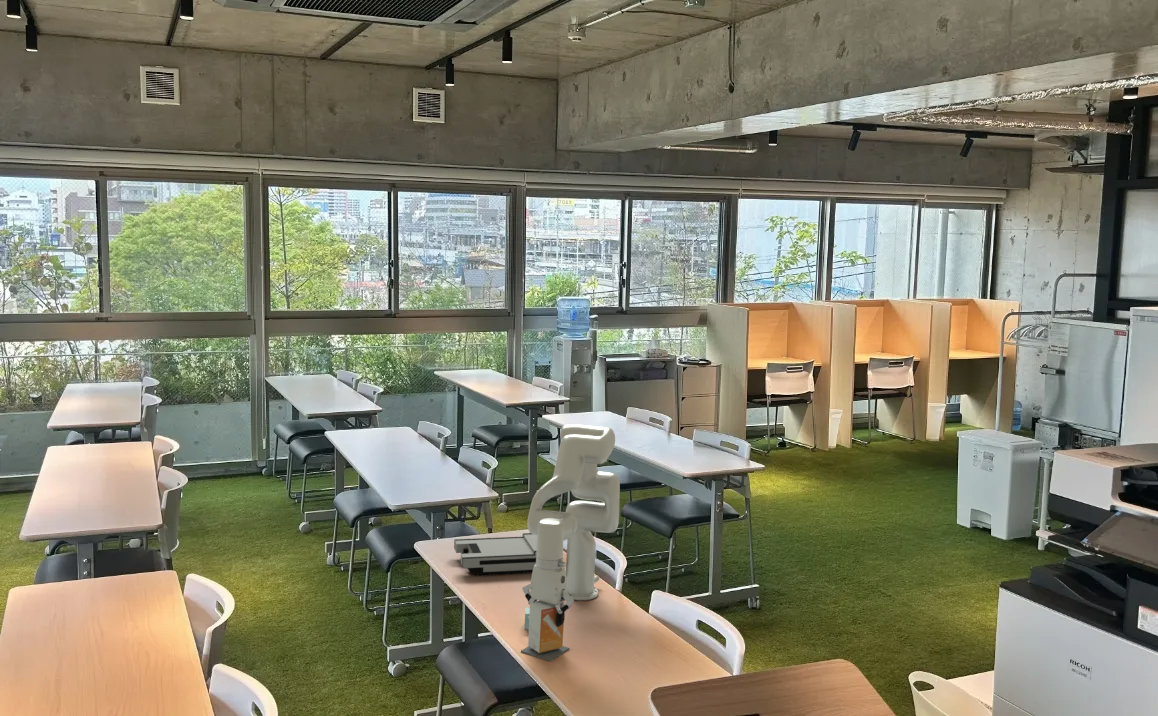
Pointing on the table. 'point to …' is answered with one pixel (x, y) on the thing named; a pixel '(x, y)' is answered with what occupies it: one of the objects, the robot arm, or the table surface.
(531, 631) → the small box
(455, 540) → the gray flat machine
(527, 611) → the letter cube
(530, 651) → the pad
